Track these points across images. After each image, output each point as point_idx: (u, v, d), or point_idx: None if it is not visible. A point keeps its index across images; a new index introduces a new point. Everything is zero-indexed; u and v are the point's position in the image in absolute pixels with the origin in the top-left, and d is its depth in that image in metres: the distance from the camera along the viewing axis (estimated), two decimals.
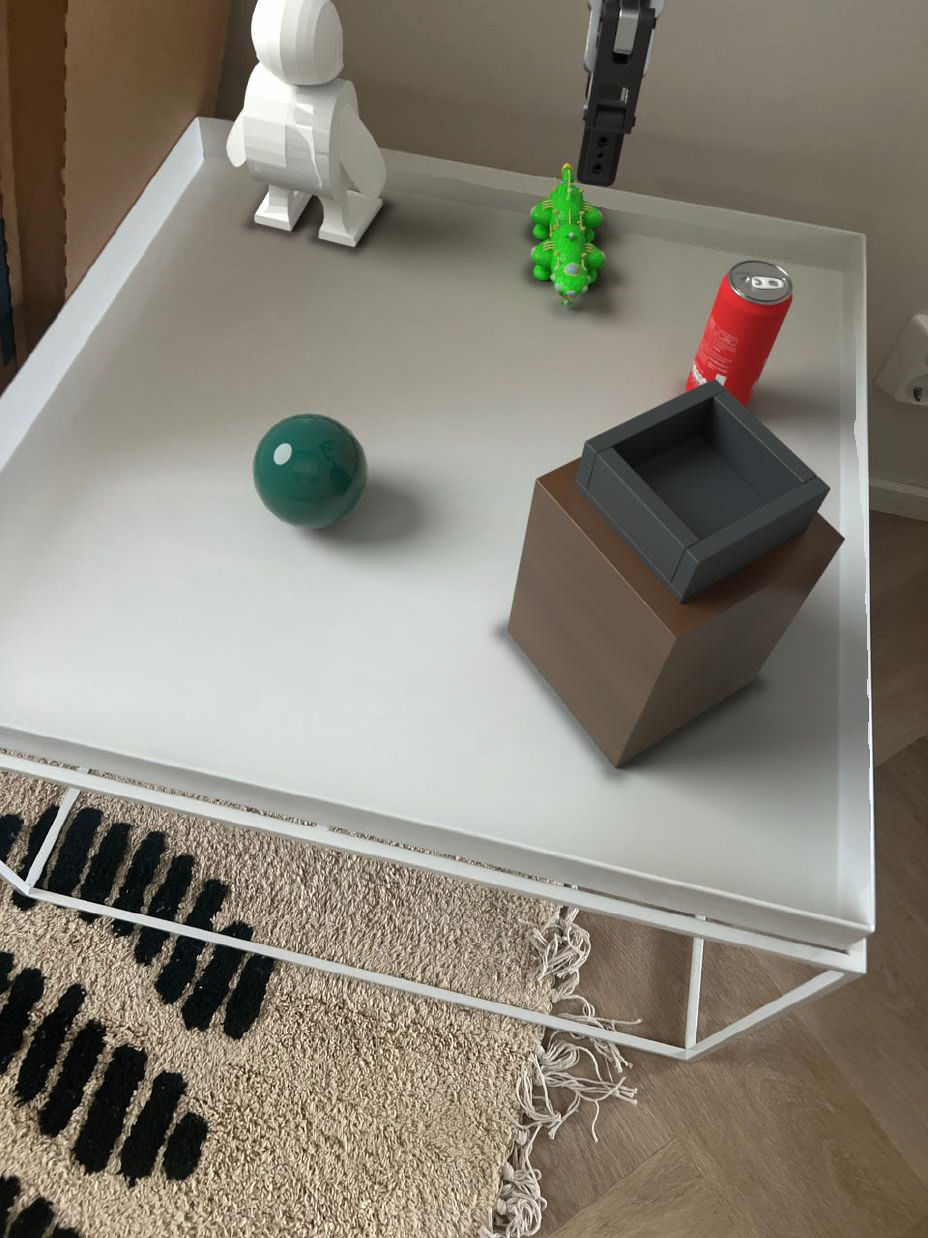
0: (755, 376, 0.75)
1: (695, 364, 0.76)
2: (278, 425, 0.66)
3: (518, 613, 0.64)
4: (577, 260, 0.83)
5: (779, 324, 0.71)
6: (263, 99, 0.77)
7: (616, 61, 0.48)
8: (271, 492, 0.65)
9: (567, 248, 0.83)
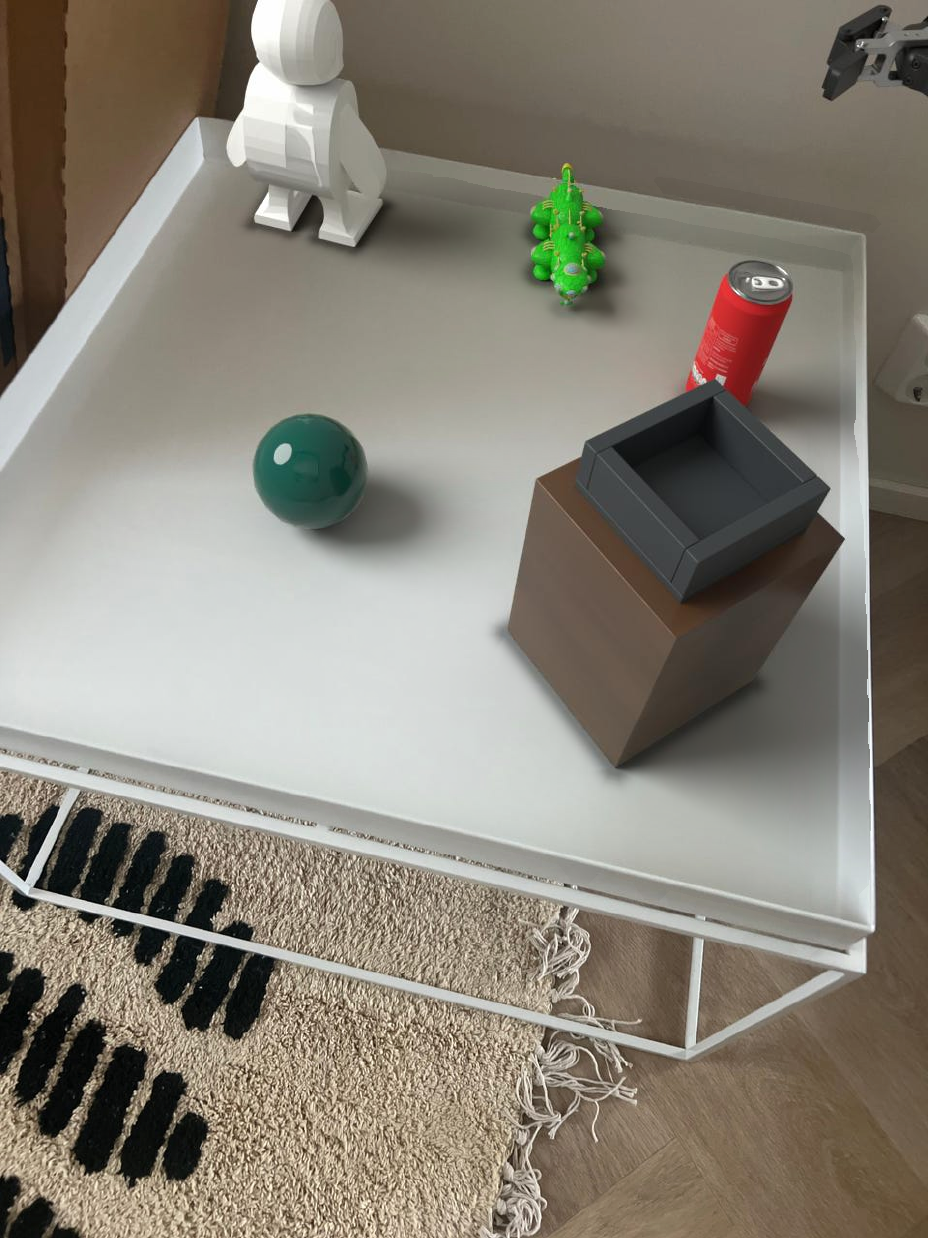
0: (755, 376, 0.75)
1: (695, 364, 0.76)
2: (278, 425, 0.66)
3: (518, 613, 0.64)
4: (577, 260, 0.83)
5: (779, 324, 0.71)
6: (263, 99, 0.77)
7: None
8: (271, 492, 0.65)
9: (567, 248, 0.83)
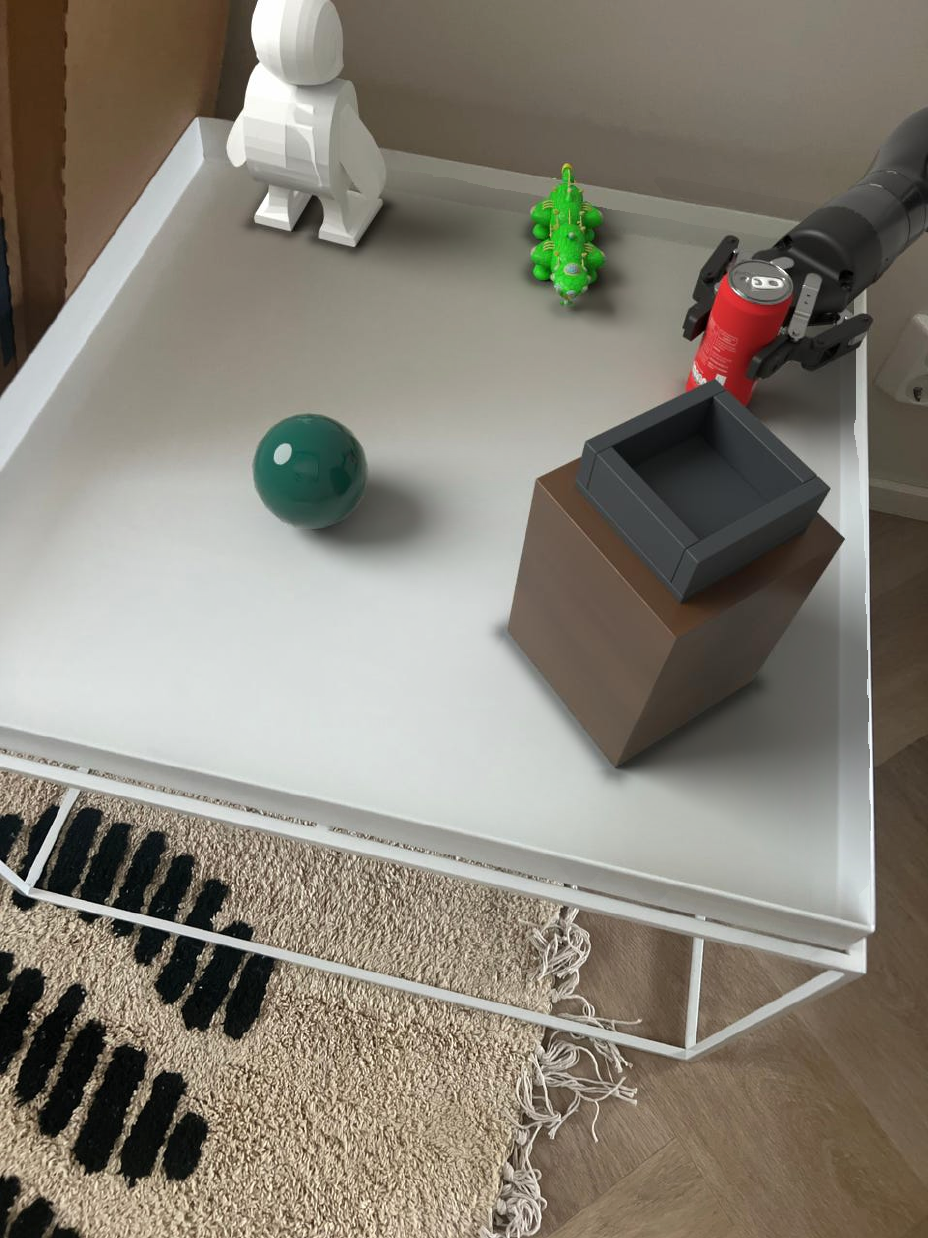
0: None
1: (695, 364, 0.76)
2: (278, 425, 0.66)
3: (518, 613, 0.64)
4: (577, 260, 0.83)
5: (779, 324, 0.71)
6: (263, 99, 0.77)
7: None
8: (271, 492, 0.65)
9: (567, 248, 0.83)
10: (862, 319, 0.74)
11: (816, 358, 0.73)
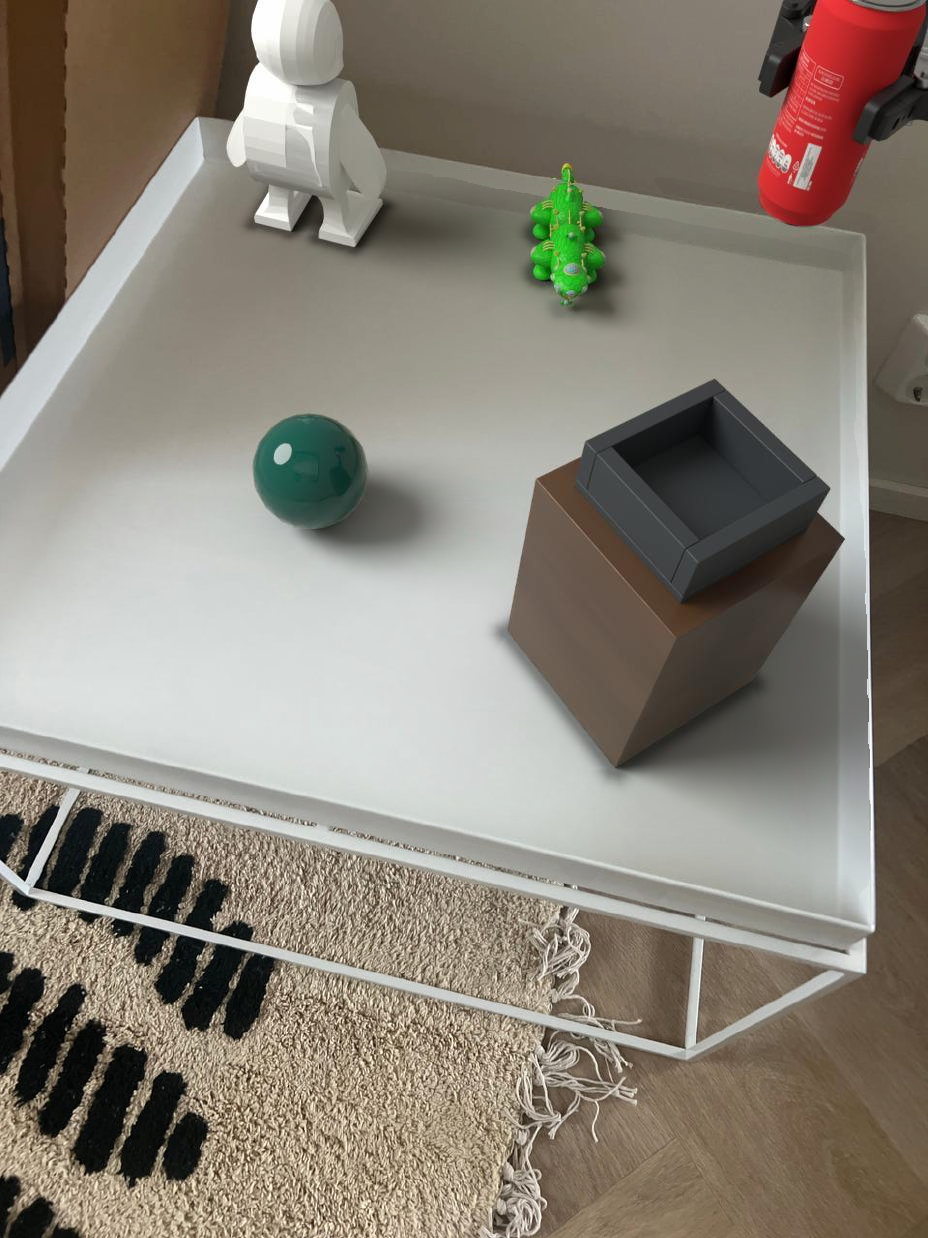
0: (862, 147, 0.52)
1: (774, 138, 0.54)
2: (278, 425, 0.66)
3: (518, 613, 0.64)
4: (577, 260, 0.83)
5: (906, 52, 0.48)
6: (263, 99, 0.77)
7: None
8: (271, 492, 0.65)
9: (567, 248, 0.83)
10: None
11: None
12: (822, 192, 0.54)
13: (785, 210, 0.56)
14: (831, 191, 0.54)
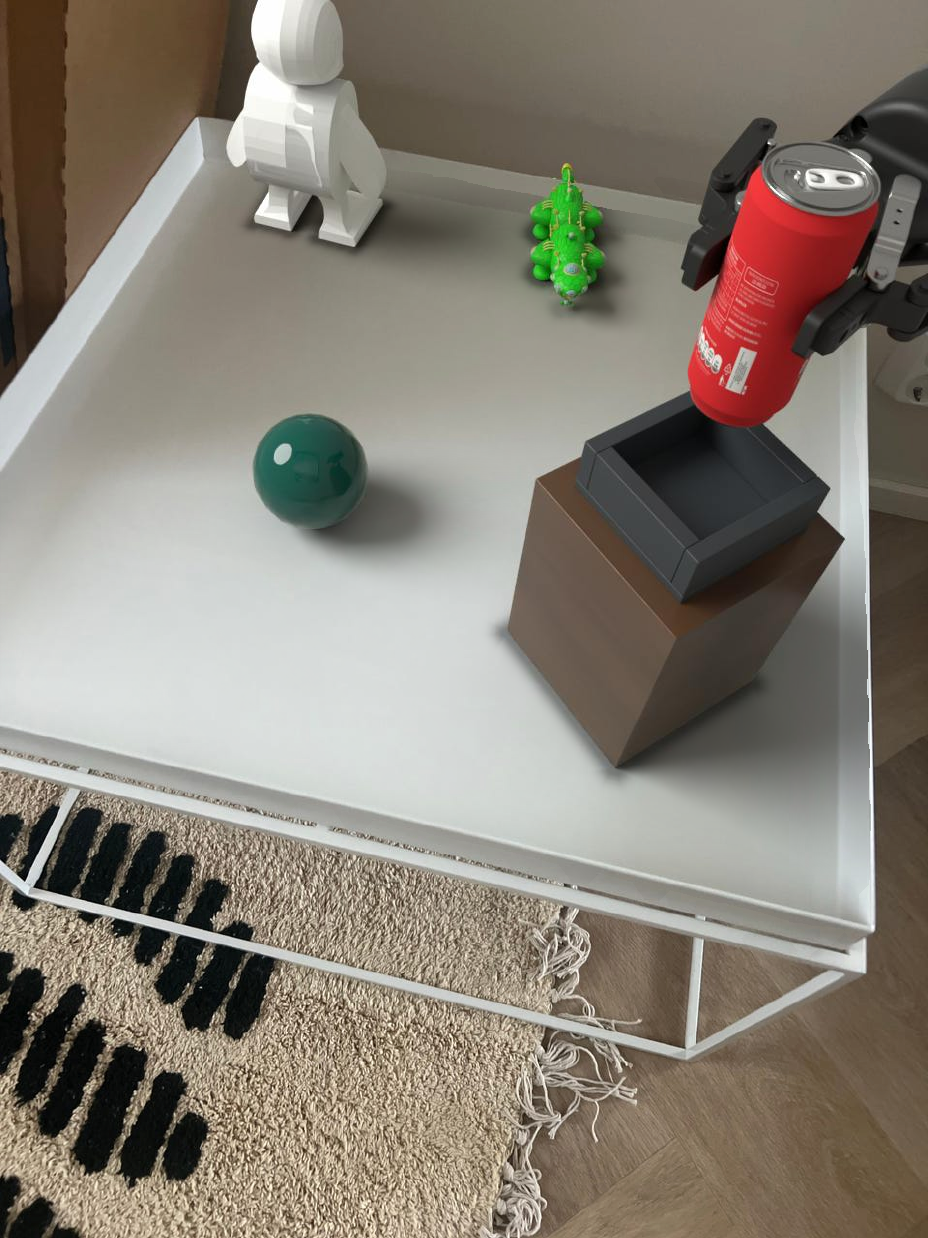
0: None
1: (703, 332, 0.45)
2: (278, 425, 0.66)
3: (518, 613, 0.64)
4: (577, 260, 0.83)
5: (854, 255, 0.39)
6: (263, 99, 0.77)
7: None
8: (271, 492, 0.65)
9: (567, 248, 0.83)
10: None
11: (915, 319, 0.42)
12: (760, 396, 0.45)
13: (718, 411, 0.47)
14: (771, 395, 0.45)
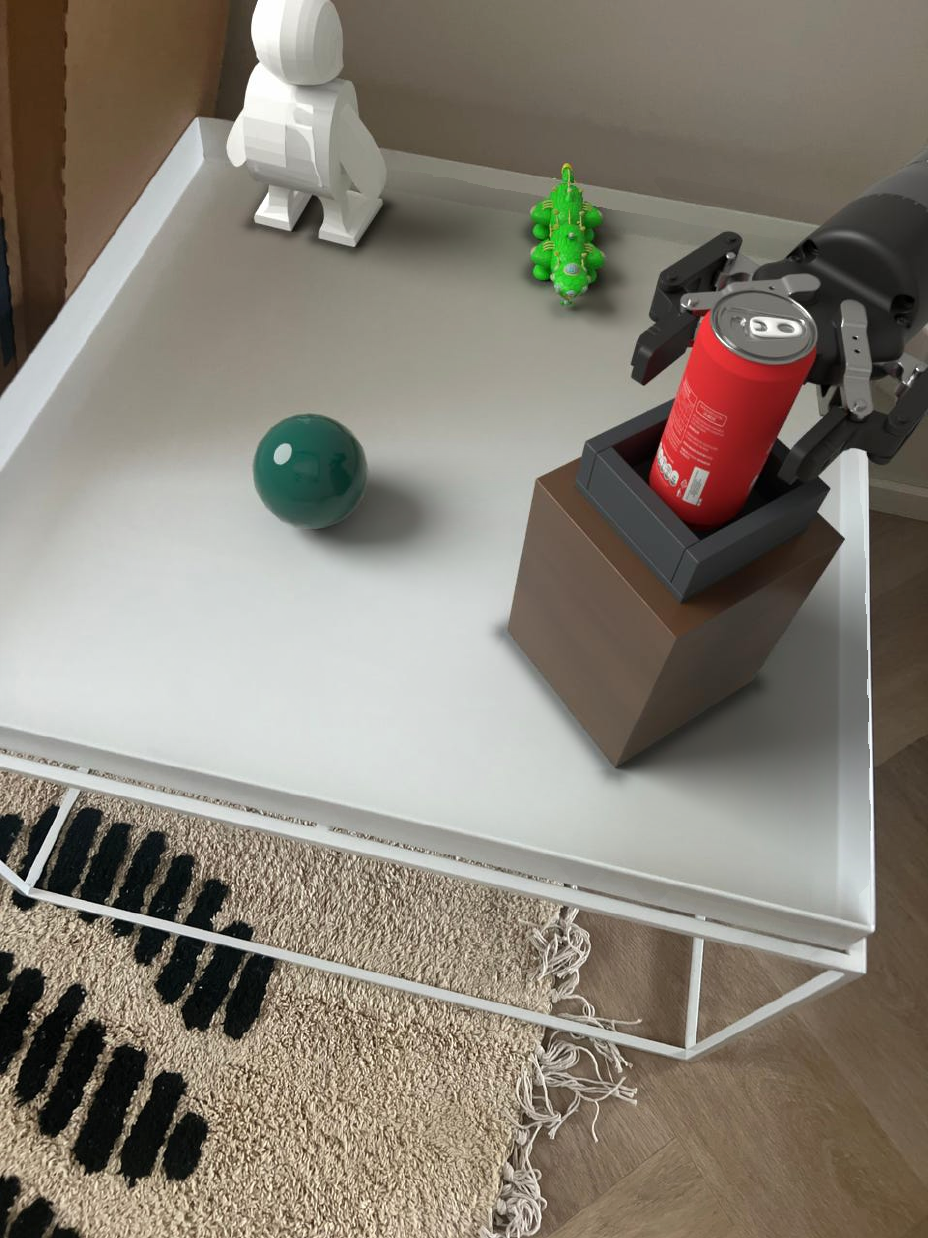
0: (755, 470, 0.47)
1: (662, 448, 0.49)
2: (278, 425, 0.66)
3: (518, 613, 0.64)
4: (577, 260, 0.83)
5: (795, 393, 0.43)
6: (263, 99, 0.77)
7: None
8: (271, 492, 0.65)
9: (567, 248, 0.83)
10: None
11: (896, 446, 0.45)
12: (714, 507, 0.49)
13: None
14: (724, 506, 0.49)
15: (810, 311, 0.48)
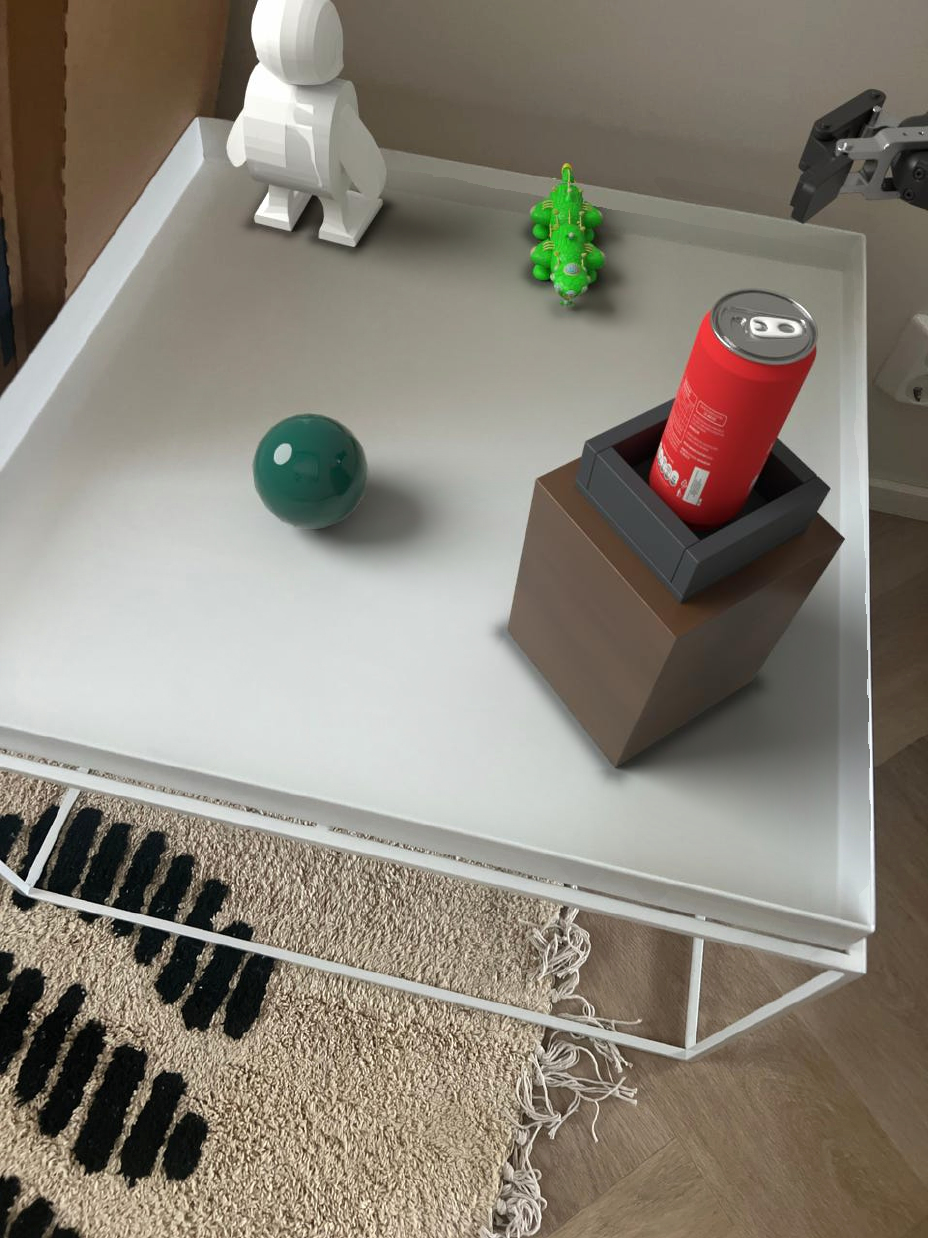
0: (755, 470, 0.47)
1: (662, 448, 0.49)
2: (278, 425, 0.66)
3: (518, 613, 0.64)
4: (577, 260, 0.83)
5: (795, 393, 0.43)
6: (263, 99, 0.77)
7: None
8: (271, 492, 0.65)
9: (567, 248, 0.83)
10: None
11: None
12: (714, 507, 0.49)
13: None
14: (724, 506, 0.49)
15: None
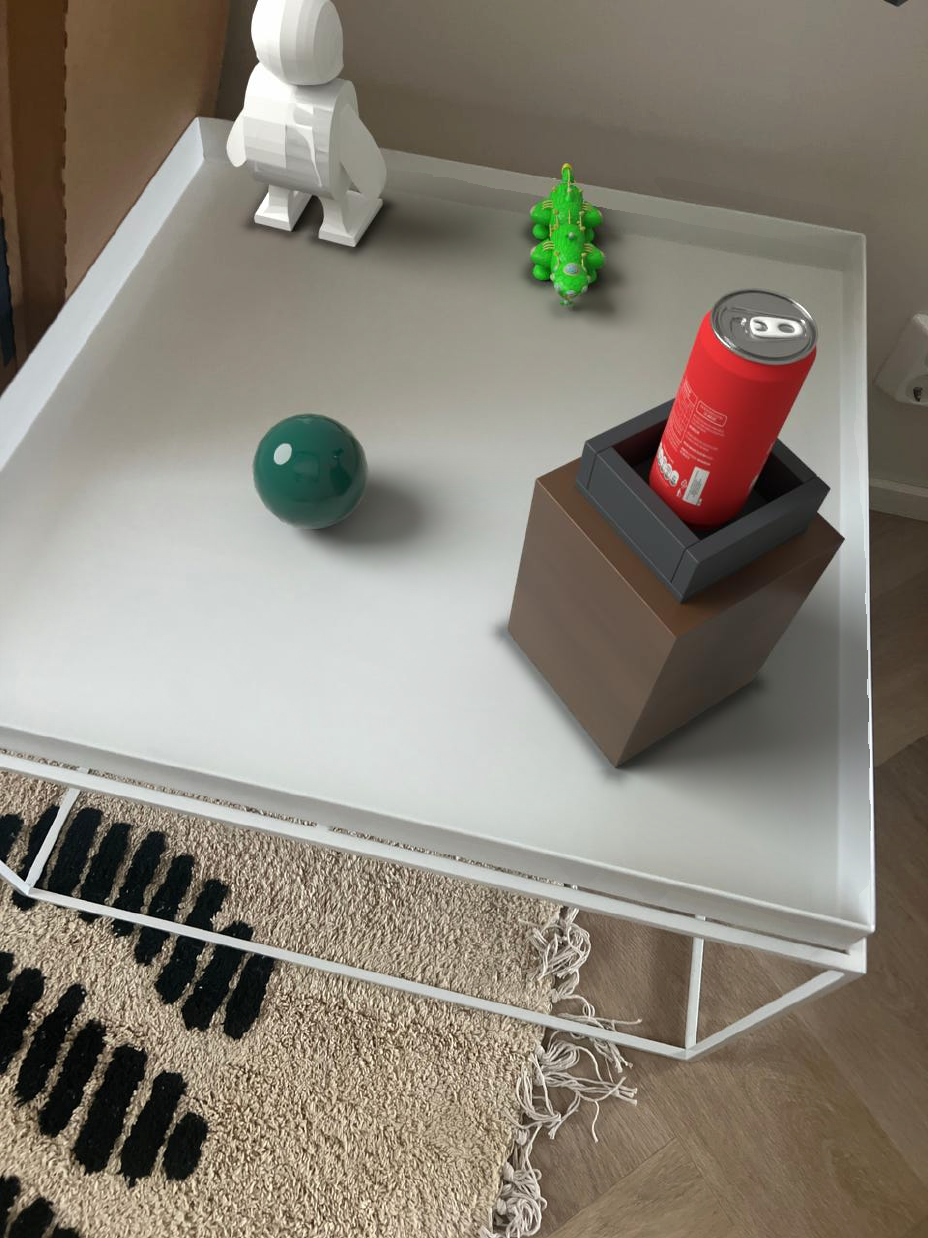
0: (755, 470, 0.47)
1: (662, 448, 0.49)
2: (278, 425, 0.66)
3: (518, 613, 0.64)
4: (577, 260, 0.83)
5: (795, 393, 0.43)
6: (263, 99, 0.77)
7: None
8: (271, 492, 0.65)
9: (567, 248, 0.83)
10: None
11: None
12: (714, 507, 0.49)
13: None
14: (724, 506, 0.49)
15: None
